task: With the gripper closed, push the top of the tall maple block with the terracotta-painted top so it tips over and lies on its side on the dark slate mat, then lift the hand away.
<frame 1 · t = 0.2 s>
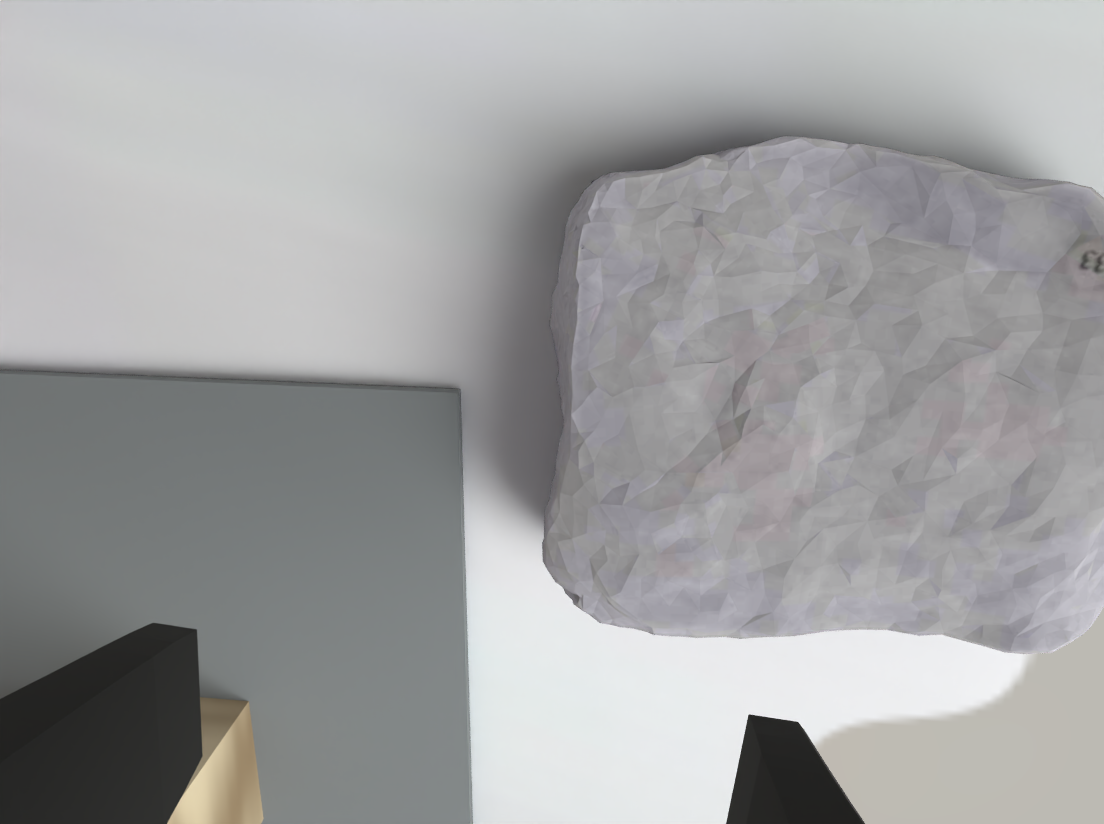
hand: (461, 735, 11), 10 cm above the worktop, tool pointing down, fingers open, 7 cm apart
stone block: (812, 363, 20), on the worktop
slate mat: (188, 718, 25), on the worktop
maple block: (154, 752, 25), resting on slate mat
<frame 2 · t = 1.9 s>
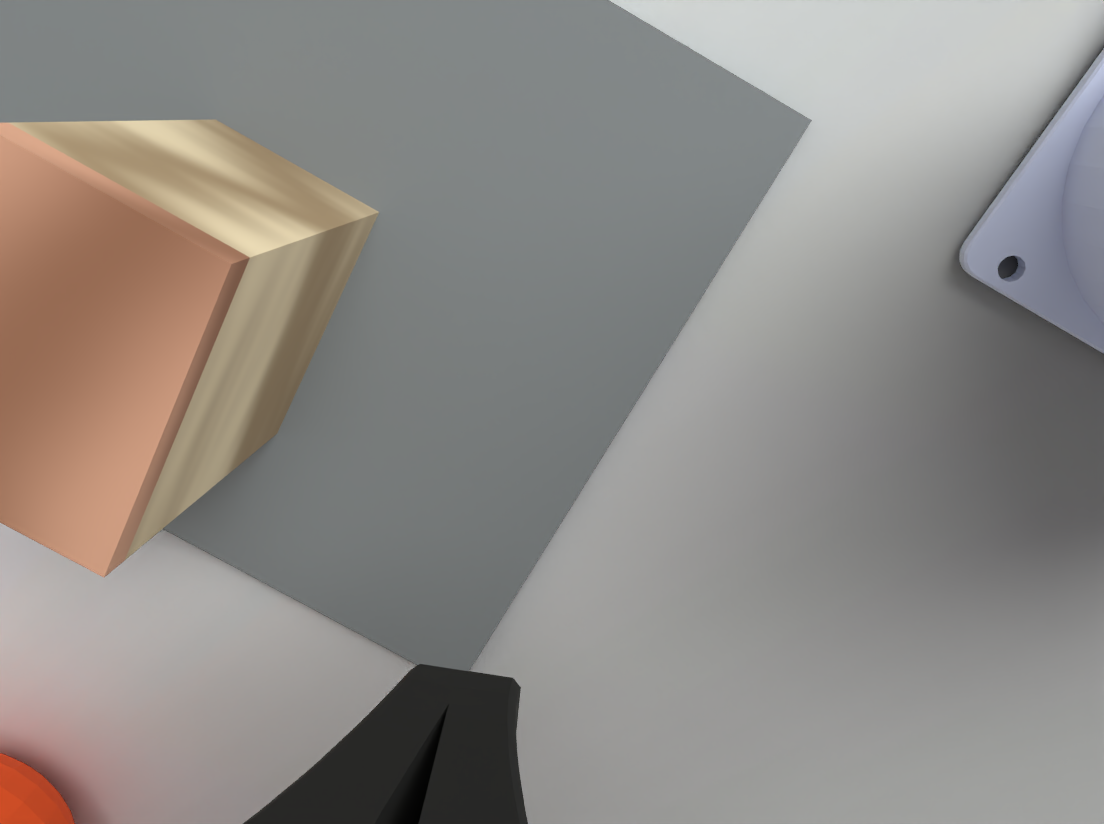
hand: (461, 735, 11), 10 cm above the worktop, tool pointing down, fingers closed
clementine: (42, 793, 27), on the worktop
slate mat: (230, 223, 20), on the worktop
maple block: (248, 285, 20), resting on slate mat
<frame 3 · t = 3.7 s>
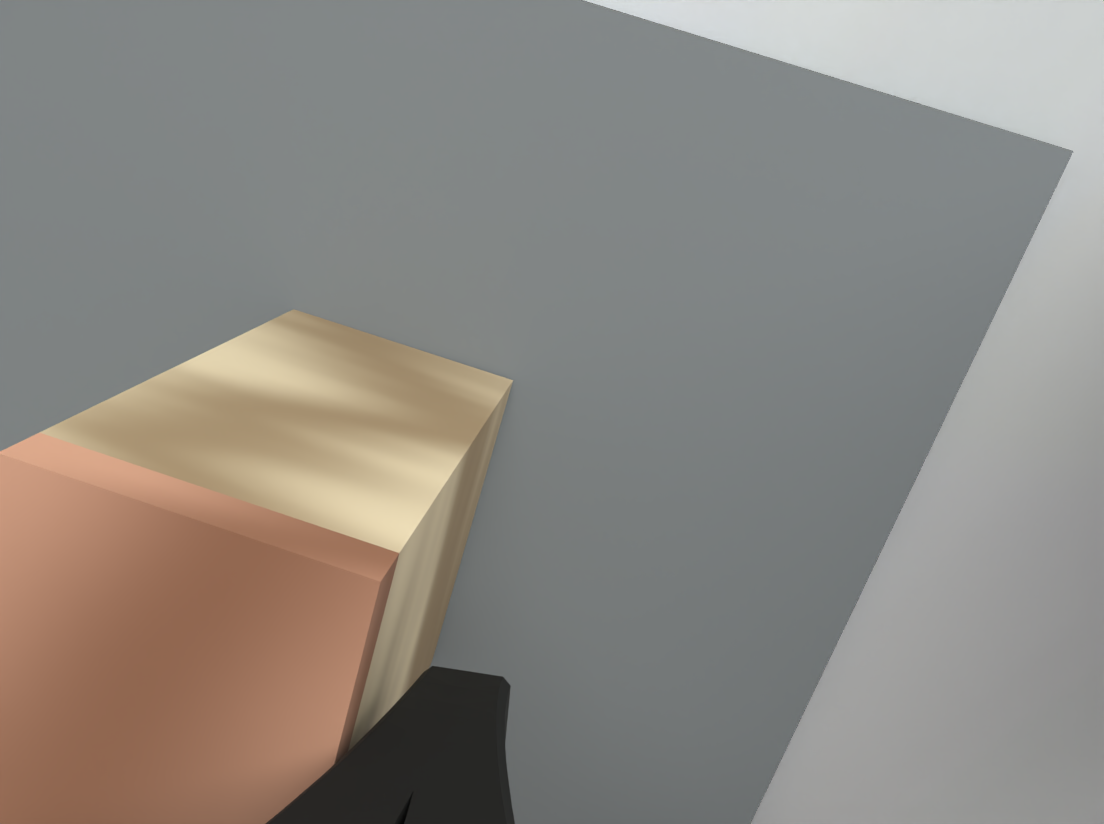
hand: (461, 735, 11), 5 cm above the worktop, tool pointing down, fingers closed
slate mat: (332, 424, 16), on the worktop
maple block: (366, 495, 16), resting on slate mat, touching gripper
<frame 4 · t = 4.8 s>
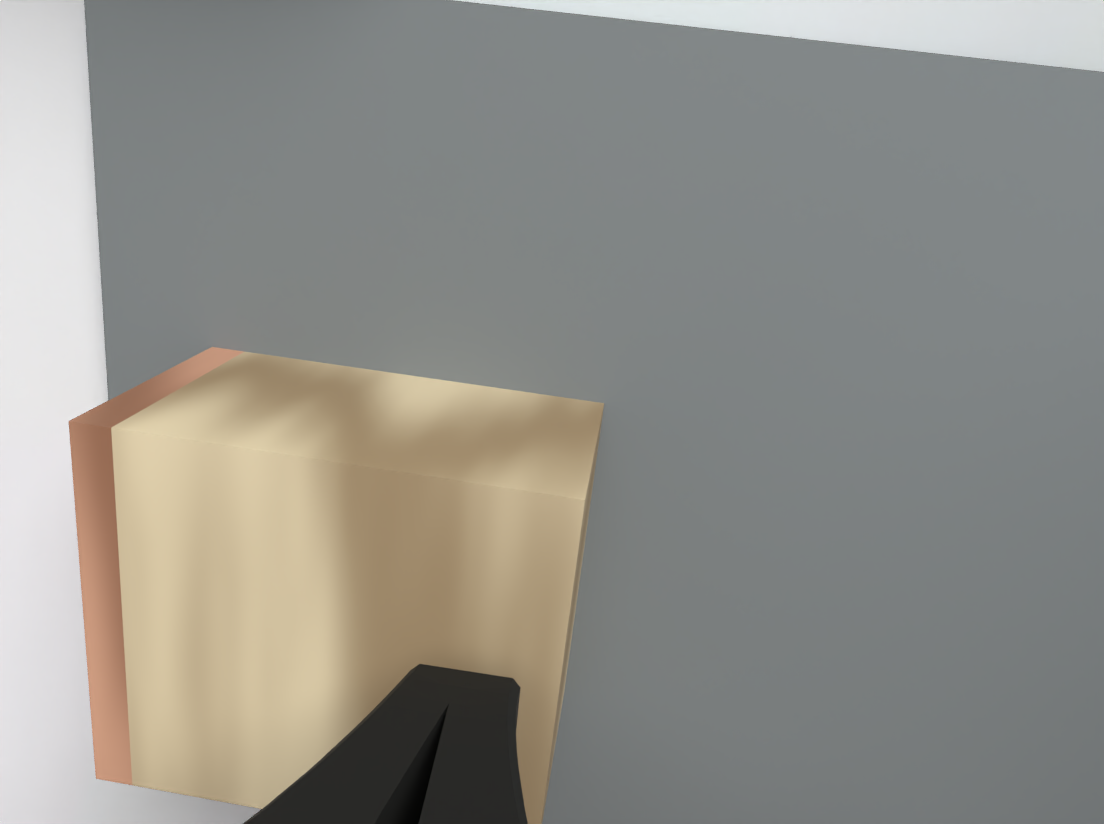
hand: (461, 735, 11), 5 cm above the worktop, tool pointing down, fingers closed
slate mat: (645, 509, 16), on the worktop
maple block: (572, 617, 14), point 2 cm above the worktop, tilted 90°, touching slate mat
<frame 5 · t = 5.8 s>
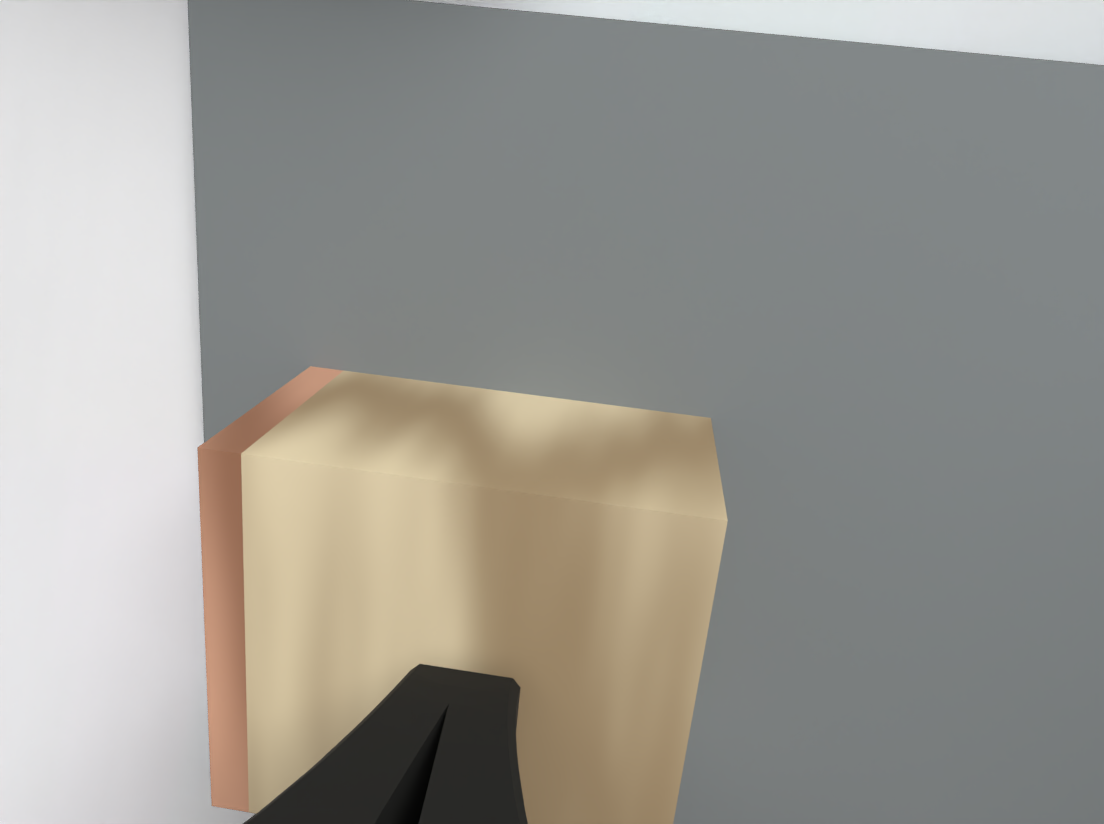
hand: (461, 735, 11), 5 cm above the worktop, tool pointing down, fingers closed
slate mat: (748, 524, 16), on the worktop
maple block: (688, 635, 14), point 2 cm above the worktop, tilted 90°, touching slate mat
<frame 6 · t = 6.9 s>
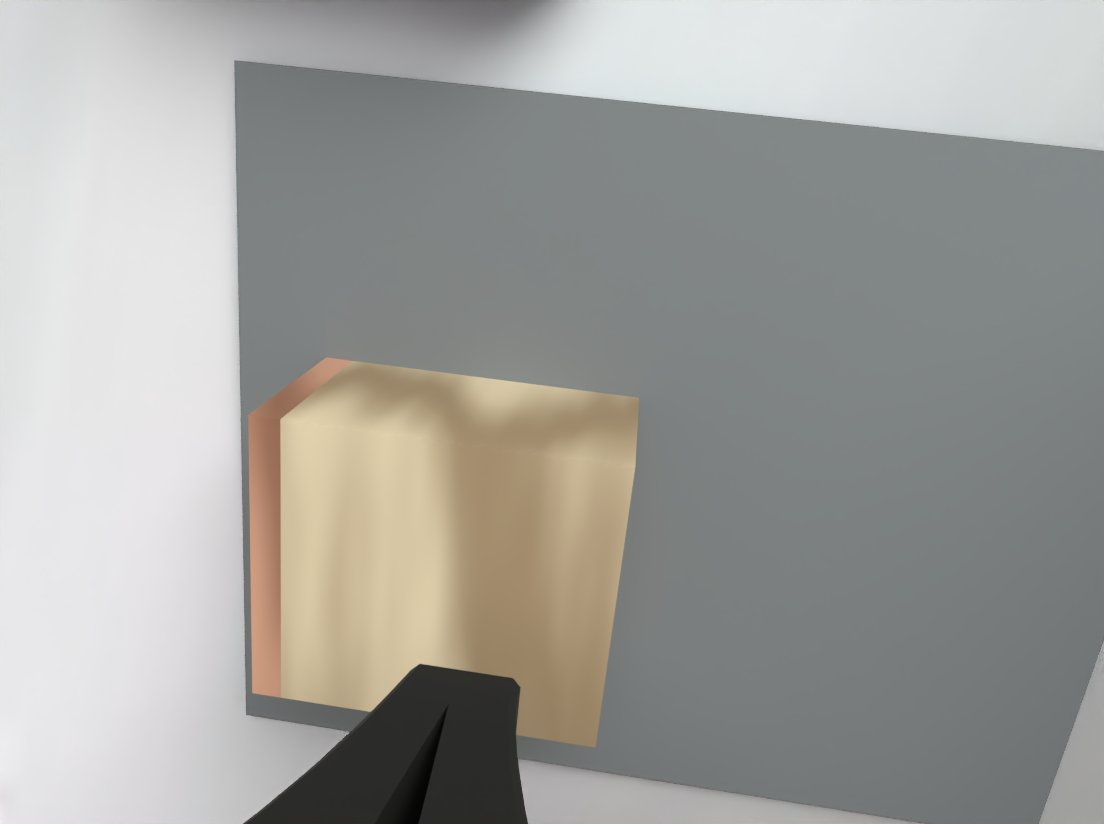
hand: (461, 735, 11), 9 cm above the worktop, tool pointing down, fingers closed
slate mat: (671, 482, 20), on the worktop
maple block: (618, 564, 18), point 2 cm above the worktop, tilted 90°, touching slate mat
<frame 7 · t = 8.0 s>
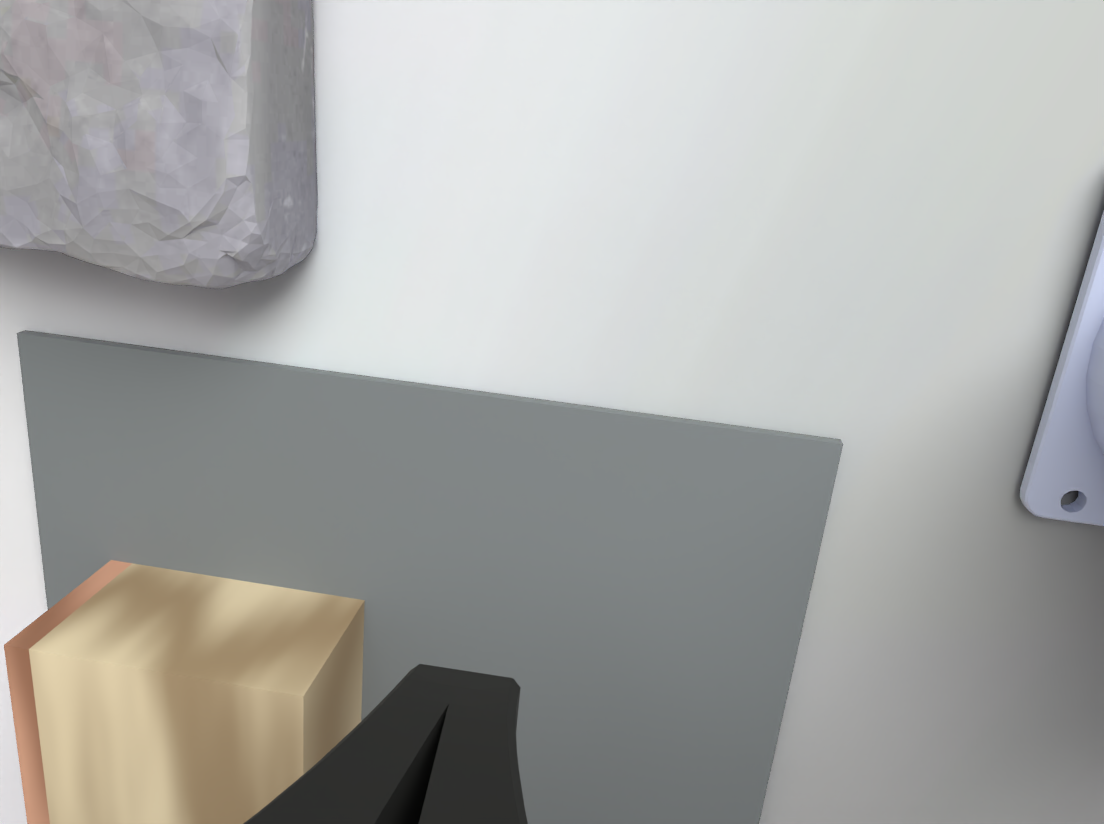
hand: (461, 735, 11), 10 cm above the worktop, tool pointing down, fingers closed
slate mat: (402, 664, 24), on the worktop
maple block: (335, 746, 22), point 2 cm above the worktop, tilted 90°, touching slate mat
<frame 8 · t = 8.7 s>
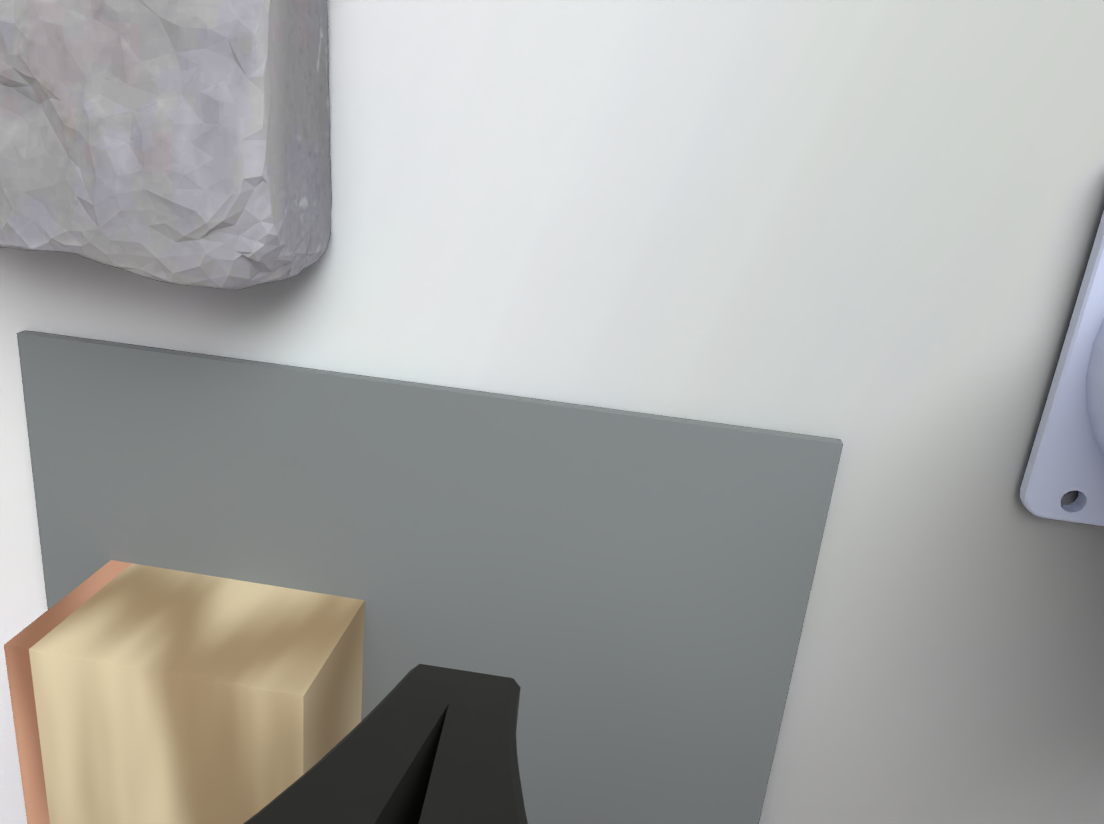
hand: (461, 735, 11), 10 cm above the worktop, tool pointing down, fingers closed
slate mat: (402, 664, 24), on the worktop
maple block: (335, 746, 22), point 2 cm above the worktop, tilted 90°, touching slate mat
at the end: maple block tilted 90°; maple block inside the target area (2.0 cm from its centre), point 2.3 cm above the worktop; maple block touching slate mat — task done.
